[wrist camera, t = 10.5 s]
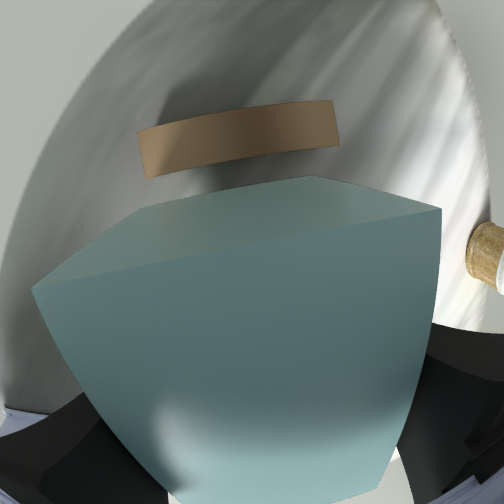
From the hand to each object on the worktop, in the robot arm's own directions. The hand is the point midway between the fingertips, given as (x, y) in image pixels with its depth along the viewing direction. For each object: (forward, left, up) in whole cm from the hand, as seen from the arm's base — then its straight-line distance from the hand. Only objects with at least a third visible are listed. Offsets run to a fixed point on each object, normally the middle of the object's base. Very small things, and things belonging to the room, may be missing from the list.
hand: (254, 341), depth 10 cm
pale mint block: (0, 0, -2) cm, 2 cm away
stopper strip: (+1, +7, -6) cm, 9 cm away
